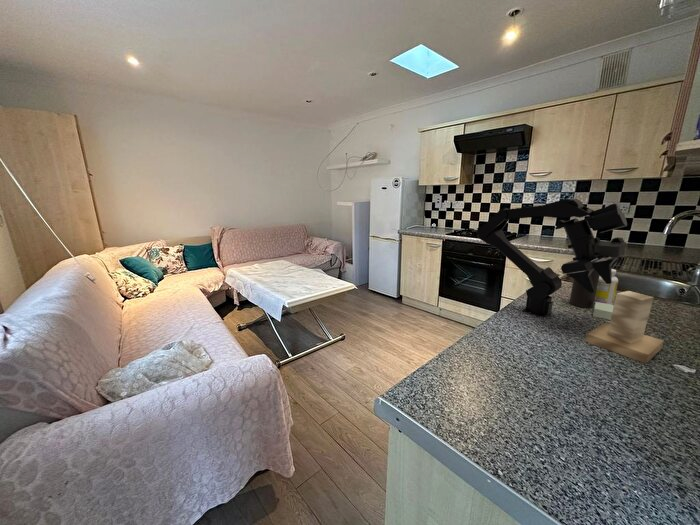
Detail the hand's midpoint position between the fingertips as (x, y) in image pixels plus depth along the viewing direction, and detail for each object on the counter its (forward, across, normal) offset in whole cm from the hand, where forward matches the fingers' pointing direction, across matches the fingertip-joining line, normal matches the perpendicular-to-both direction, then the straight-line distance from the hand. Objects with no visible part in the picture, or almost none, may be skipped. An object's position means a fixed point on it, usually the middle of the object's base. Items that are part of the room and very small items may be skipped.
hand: (601, 287), depth 80 cm
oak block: (+15, -6, -3) cm, 17 cm away
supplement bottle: (+11, +23, +14) cm, 29 cm away
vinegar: (+9, +15, +16) cm, 24 cm away
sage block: (+13, +13, +8) cm, 20 cm away
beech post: (+12, -6, -4) cm, 15 cm away
